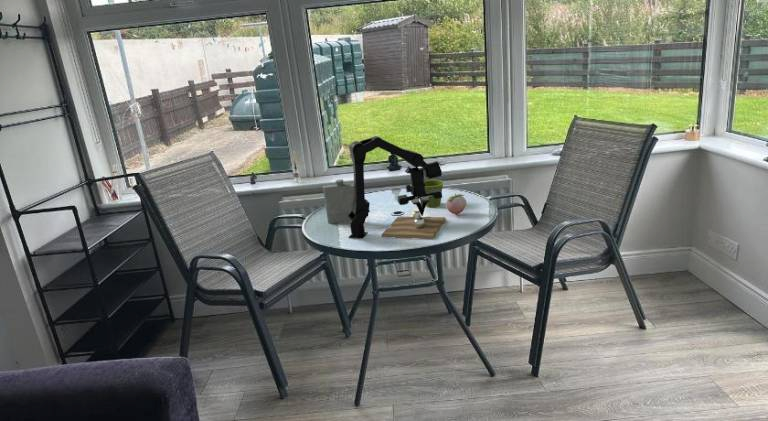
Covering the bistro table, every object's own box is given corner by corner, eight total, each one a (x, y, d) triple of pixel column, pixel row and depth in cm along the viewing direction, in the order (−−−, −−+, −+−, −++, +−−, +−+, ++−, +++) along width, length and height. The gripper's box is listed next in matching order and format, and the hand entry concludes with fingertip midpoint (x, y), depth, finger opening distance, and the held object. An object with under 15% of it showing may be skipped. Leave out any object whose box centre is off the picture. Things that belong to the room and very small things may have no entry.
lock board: (433, 239, 203) (432, 235, 203) (381, 237, 211) (381, 233, 211) (445, 220, 223) (445, 217, 222) (398, 219, 231) (397, 216, 230)
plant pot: (419, 209, 241) (417, 186, 238) (423, 202, 252) (421, 180, 249) (443, 209, 238) (442, 186, 235) (447, 201, 249) (445, 179, 246)
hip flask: (327, 223, 236) (321, 182, 229) (329, 220, 239) (323, 179, 233) (360, 222, 232) (355, 180, 226) (362, 219, 236) (357, 178, 230)
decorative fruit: (455, 210, 235) (454, 189, 232) (469, 213, 229) (468, 191, 226) (442, 216, 229) (441, 195, 226) (456, 219, 223) (455, 197, 220)
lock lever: (425, 227, 212) (424, 220, 211) (415, 228, 212) (414, 221, 211) (420, 216, 225) (420, 210, 224) (412, 217, 225) (411, 211, 224)
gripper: (434, 173, 225) (437, 206, 230) (393, 180, 223) (397, 214, 228) (440, 179, 215) (444, 213, 219) (397, 186, 213) (402, 221, 217)
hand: (421, 215), depth 221 cm, fingers closed
